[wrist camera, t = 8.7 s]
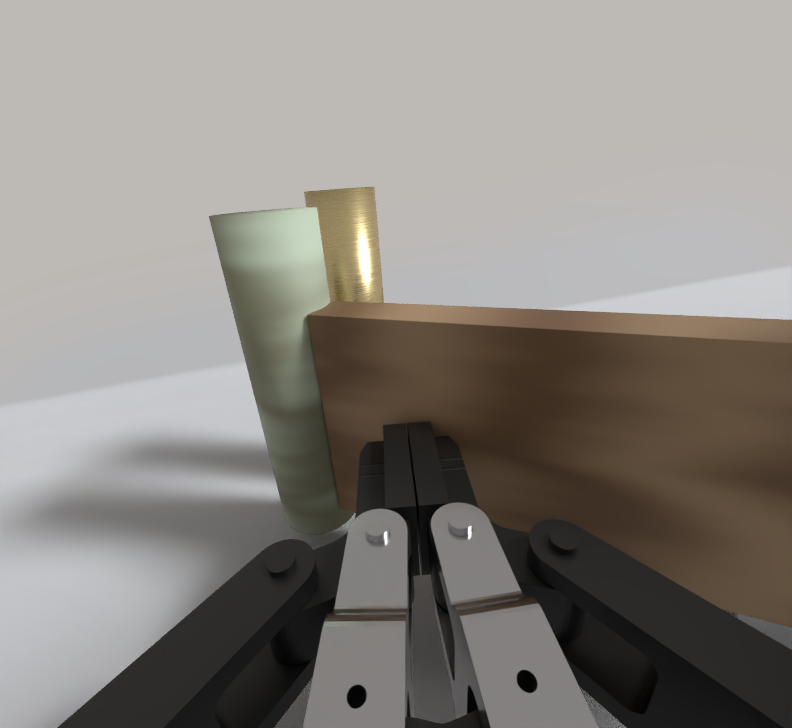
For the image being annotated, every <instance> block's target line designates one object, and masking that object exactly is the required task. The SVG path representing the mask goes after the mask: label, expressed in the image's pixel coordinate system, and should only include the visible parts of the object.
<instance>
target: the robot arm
mask: <svg viewBox="0 0 792 728" xmlns="http://www.w3.org/2000/svg"><path fill="white" fill-rule="evenodd" d="M407 432H408V437H407ZM358 476H359V477H358V489H357V504H356V517H355V520H354V521H353V522H352V523H351V525H350V527H349V530H348V532H347V533H346V534H345V535H344V536H343V537H341V538H340V539H339V540H337V541H335V542H333V543H331V544H328V545H326V546H323V547H320V548H317V549H315V550H313V549H312V548H311V547H310V546H309V545H308V544H307V543H305V542H303V541H300V540H295V539H288V540H283V541H279V542H276V543H274V544H272V545H270V546H269V547H267V548H266V549H264V550H263V551H262V552H261V553H259V554H258V555H257V556H256V557H255V558H254V559H252V560H251V561H250V562H249V563H248V564H247V565H245V566H244V567H243V568H242V569H241V570H240V571H239V572H237V573H236V574H235V575H234V576H233V577H232V578H230V579H229V580H228V581H227V582H226V583H225V584H223V585H222V586H221V587H220V588H219V589H218V590H216V591H215V592H214V593H213V594H212V595H211V596H210V597H208V598H207V599H206V600H205V601H204V602H203V603H201V604H200V605H199V606H198V607H197V608H196V609H194V610H193V611H192V612H191V613H190V614H189V615H187V616H186V617H185V618H184V619H183V620H182V621H181V622H179V623H178V624H177V625H176V626H175V627H174V628H172V629H171V630H170V631H169V632H168V633H167V634H165V635H164V636H163V637H162V638H161V639H160V640H158V641H157V642H156V643H155V644H154V645H153V646H151V647H150V648H149V649H148V650H147V651H146V652H145V653H143V654H142V655H141V656H140V657H139V658H138V659H136V660H135V661H134V662H133V663H132V664H131V665H129V666H128V667H127V668H126V669H125V670H124V671H122V672H121V673H120V674H119V675H118V676H117V677H116V678H114V679H113V680H112V681H111V682H110V683H109V684H107V685H106V686H105V687H104V688H103V689H102V690H100V691H99V692H98V693H97V694H96V695H95V696H93V697H92V698H91V699H90V700H89V701H88V702H87V703H85V704H84V705H83V706H82V707H81V708H80V709H78V710H77V711H76V712H75V713H74V714H73V715H71V716H70V717H69V718H68V719H67V720H66V721H64V722H63V723H62V724H61V725H60V726H59V727H57V728H274V727H275V725H276V724H277V723H278V721H279V720H280V719H281V717H282V716H283V715H284V714H285V712H286V711H287V710H288V708H289V707H290V706H291V704H292V703H293V702H294V701H295V699H296V698H297V697H298V695H299V694H300V693H301V691H302V690H303V689H304V688H305V686H306V685H307V684H308V682H309V681H310V680H311V678H312V677H313V678H312V683H311V689H310V694H309V699H308V704H307V709H306V714H305V719H304V724H303V728H599V727H598V725H597V723H596V721H595V719H594V717H593V714H592V712H591V710H590V708H589V706H588V704H587V702H586V700H585V698H584V696H583V694H582V691H581V689H580V687H581V688H582V689H583V690H585V691H586V692H587V693H588V694H589V695H590V696H591V697H593V698H594V699H595V700H596V701H597V702H598V703H599V704H601V705H602V706H603V707H604V708H605V709H606V710H607V711H609V712H610V713H611V714H612V715H613V716H614V717H615V718H617V719H618V720H619V721H620V722H621V723H622V724H623V725H625V726H626V727H627V728H792V650H791V649H790V648H788V647H786V646H784V645H783V644H781V643H779V642H777V641H776V640H774V639H772V638H771V637H769V636H767V635H765V634H764V633H762V632H760V631H758V630H757V629H755V628H753V627H752V626H750V625H748V624H746V623H745V622H743V621H741V620H739V619H738V618H736V617H734V616H733V615H731V614H729V613H727V612H726V611H724V610H722V609H720V608H719V607H717V606H715V605H714V604H712V603H710V602H708V601H707V600H705V599H703V598H701V597H700V596H698V595H696V594H694V593H693V592H691V591H689V590H688V589H686V588H684V587H682V586H681V585H679V584H677V583H675V582H674V581H672V580H670V579H669V578H667V577H665V576H663V575H662V574H660V573H658V572H656V571H655V570H653V569H651V568H650V567H648V566H646V565H644V564H643V563H641V562H639V561H637V560H636V559H634V558H632V557H631V556H629V555H627V554H625V553H624V552H622V551H620V550H618V549H617V548H615V547H613V546H611V545H610V544H608V543H606V542H605V541H603V540H601V539H599V538H598V537H596V536H594V535H592V534H591V533H589V532H587V531H586V530H584V529H582V528H580V527H579V526H577V525H575V524H573V523H570V522H567V521H564V520H558V519H548V520H543V521H540V522H538V523H537V524H535V525H534V526H533V527H532V529H531V531H530V533H529V532H523V531H518V530H513V529H508V528H504V527H502V526H499V525H497V524H495V523H493V522H492V521H490V520H489V519H488V517H487V516H486V514H485V513H484V512H483V511H482V510H480V509H479V507H478V504H477V501H476V498H475V495H474V492H473V489H472V486H471V483H470V480H469V477H468V474H467V471H466V469H465V464H464V461H463V459H462V455H461V452H460V449H459V446H458V444H456V443H455V442H454V441H453V440H452V439H451V438H450V437H449V436H437V437H434V435H433V431H432V427H431V423H430V421H424V422H411V423H407V429H406V423H399V424H386V425H383V441H374V442H367V443H366V445H365V446H364V448H363V449H362V450H361V452H360V459H359V474H358ZM418 545H419V550H418ZM419 554H420V562H421V570H422V575H427V574H431V580H432V587H433V605H434V611H435V615H436V620H437V624H438V629H439V634H440V638H441V643H442V647H443V652H444V657H445V661H446V666H447V671H448V675H449V680H450V684H451V689H452V695H453V702H454V710H455V718H456V719H455V720H453V721H451V722H448V723H443V724H440V723H434V722H430V721H426V720H422V719H418V718H414V693H413V607H412V604H413V601H414V580H413V576H417V575H420V570H419ZM579 686H580V687H579Z"/></svg>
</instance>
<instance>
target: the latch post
mask: <svg viewBox="0 0 792 728" xmlns="http://www.w3.org/2000/svg"><path fill="white" fill-rule="evenodd" d="M304 194H305V201H306V207H317V211H318V219H319V226H320V233H321V240H322V247H323V254H324V261H325V268H326V275H327V282H328V289H329V296H330V302H332V301H347V302H371V303H384V299H383V287H382V275H381V263H380V251H379V238H378V226H377V215H376V202H375V190H374V187H361V188H347V189H335V190H322V191H321V190H320V191H308V192H304Z"/></svg>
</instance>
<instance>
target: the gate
mask: <svg viewBox="0 0 792 728" xmlns="http://www.w3.org/2000/svg"><path fill="white" fill-rule="evenodd" d="M209 219H210V222H211V226H212V230H213V234H214V238H215V242H216V246H217V250H218V254H219V258H220V262H221V266H222V270H223V274H224V278H225V281H226V286H227V290H228V294H229V298H230V302H231V305H232V309H233V313H234V317H235V321H236V325H237V329H238V333H239V337H240V341H241V345H242V349H243V353H244V357H245V361H246V365H247V369H248V373H249V377H250V381H251V385H252V388H253V392H254V396H255V400H256V404H257V408H258V412H259V416H260V420H261V424H262V428H263V432H264V436H265V440H266V444H267V448H268V452H269V456H270V460H271V464H272V468H273V471H274V475H275V479H276V483H277V487H278V491H279V495H280V499H281V503H282V507H283V511H284V515H285V519H286V521H287V523H288V525H289V526H290V527H291V528H293V529H294V530H296V531H298V532H300V533H304V534H322V533H326V532H330V531H332V530H335V529H337V528H339V527H340V526H342V525H343V524H345V523H346V522H347V521H348V520H349V519H350V518H351V517H352V516H353V514H354V513H356V504H357V489H358V477H359V476H358V474H359V459H360V452H361V450H362V449H363V448H364V446H365V445H366V443H367V442H374V441H383V425H386V424H399V423H406V429H407V423H411V422H424V421H430V423H431V427H432V431H433V435H434V437H437V436H449V437H450V438H451V439H452V440H453V441H454V442H455V443H456V444H458V446H459V449H460V452H461V455H462V459H463V461H464V464H465V469H466V471H467V474H468V477H469V480H470V483H471V486H472V489H473V492H474V495H475V498H476V501H477V504H478V507H479V509H480V510H482V511H483V512H484V513H485V514H486V516H487V517H488V519H489V520H490V521H492V522H493V523H495V524H497V525H499V526H502V527H504V528H508V529H513V530H518V531H523V532H529V533H530V531H531V529H532V527H533V526H534V525H535V524H537V523H538V522H540V521H543V520H548V519H558V520H564V521H567V522H570V523H573V524H575V525H577V526H579V527H580V528H582V529H584V530H586V531H587V532H589V533H591V534H592V535H594V536H596V537H598V538H599V539H601V540H603V541H605V542H606V543H608V544H610V545H611V546H613V547H615V548H617V549H618V550H620V551H622V552H624V553H625V554H627V555H629V556H631V557H632V558H634V559H636V560H637V561H639V562H641V563H643V564H644V565H646V566H648V567H650V568H651V569H653V570H655V571H656V572H658V573H660V574H662V575H663V576H665V577H667V578H669V579H670V580H672V581H674V582H675V583H677V584H679V585H681V586H682V587H684V588H686V589H688V590H689V591H691V592H693V593H694V594H696V595H698V596H700V597H701V598H703V599H705V600H707V601H708V602H710V603H712V604H714V605H715V606H717V607H719V608H720V609H722V610H726V611H730V612H733V613H737V614H741V615H745V616H749V617H752V618H756V619H760V620H764V621H767V622H771V623H775V624H779V625H783V626H786V627H790V628H792V320H779V319H755V318H731V317H707V316H683V315H659V314H635V313H611V312H587V311H563V310H539V309H515V308H491V307H490V308H489V307H467V306H443V305H419V304H395V303H371V302H347V301H332V302H330V296H329V289H328V282H327V275H326V268H325V261H324V254H323V247H322V240H321V233H320V226H319V219H318V211H317V207H306V208H288V209H274V210H262V211H250V212H241V213H229V214H221V215H213V216H209ZM407 437H408V432H407Z"/></svg>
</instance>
